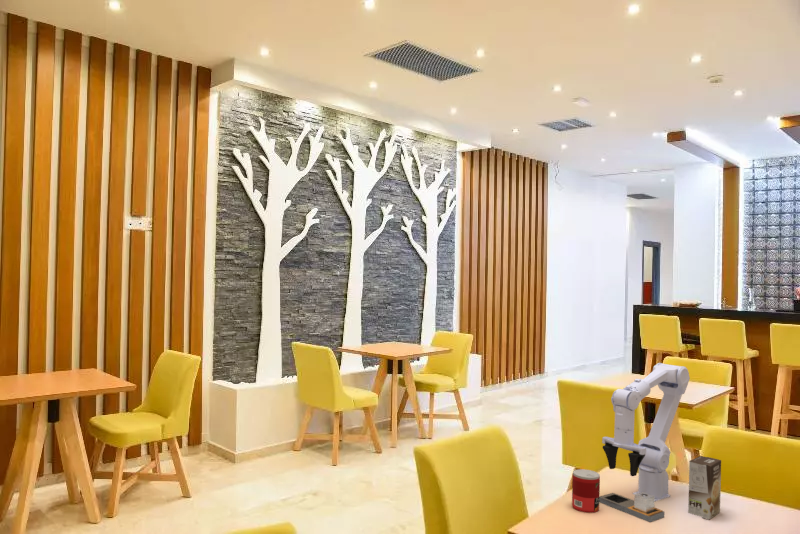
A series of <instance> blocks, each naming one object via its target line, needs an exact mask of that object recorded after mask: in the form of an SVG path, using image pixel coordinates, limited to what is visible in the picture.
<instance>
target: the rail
mask: <svg viewBox="0 0 800 534" xmlns="http://www.w3.org/2000/svg"><path fill="white" fill-rule="evenodd" d="M599 504H603V505H605V506H607V507H610V508H613V509H616V510H617V511H620V512H623V513H625V514H628V515H631V516H633V517H635V518H638V519H641V520H643V521H645V522H648V523H652V522H654V521H658V520H660V519H663V518H665V510H664V511H663V509H659V508H657V507H654V512H652V513H649V514H646V513H644V512H641V511H639V510H636V509H634V500H633V499H631V498H629V497H625V496H623V495H621V494H618V493H615V492H609V493H608V494H607V493H606V494H604V495H599Z"/></svg>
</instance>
